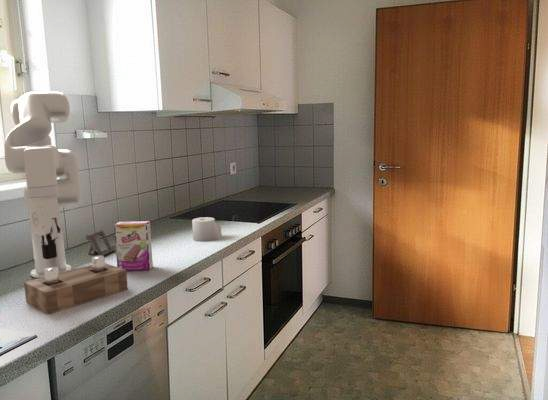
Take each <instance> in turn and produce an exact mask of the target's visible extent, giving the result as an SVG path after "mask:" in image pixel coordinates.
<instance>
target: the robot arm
mask: <svg viewBox="0 0 548 400" xmlns="http://www.w3.org/2000/svg"><path fill="white" fill-rule="evenodd" d="M68 99H69V98H68V97H67V95H65V94H64V93H63V92H59V91H29V92H26V93H24V94H22V95H21V96H20V97H19V98H17V99H15V100H13V101H12V103H11V105H10V109H11V110H10V112H11V115H12V120H13V122H14V126H15V127H13V128H12V129H11V130H10V131H9V132H8V134H7V136H6V137H5V139H4V162H5V166H6V169H7V170H8V171H9V172H11V173H12V174H17V175H18V174H25V181H26V185H25V187H24V189H23V196H24V201H25V203H26V208H27V211H28V216H29V217H28V218H29V230H30V233H31V234H30V235H31V241H32V242H31V243H32V250H33V259H34V269H32V270H30V276H31V277H33V278H34V279H38V278H42V277H45V273H44V269H45V268H48V267H58V270H59V273H61V272H65V271H69V270H72V266H71V265H70V264H67V262H66V253H65V242H64V232H63V223H62V222H63V221H62V218H61V213H60V212H61V211H60V208H70V207H77V206H79V205H80V204H81V203H82V200H83V197H82V196H83V191H82V185H81V177H80V171H79V170H80V169H79V163H78V159H77V156H76V154H75V152H74V151H72V150H70V149H66V148H65V149H64V148H63V149H58V148H57V147H56V146H54V145H52V138H51V136H50V133H51V132H52V124H59V123H62V124H63V123H66V122H67V121H68V118H69V117H70V113H71V112H70V111H71V108H70V102H69V100H68ZM61 178H62V179H61Z"/></svg>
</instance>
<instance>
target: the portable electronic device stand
mask: <svg viewBox="0 0 548 400" xmlns="http://www.w3.org/2000/svg"><path fill="white" fill-rule="evenodd" d="M101 237H102V240H103V242H104V243H105V246H106V249H105V250H104V249H103V250H101V248H100V246H99V242H100V239H101ZM85 239H86V241H88V242H89V241H91V244H90V248H89V251H88V253H87V254H88V256H89V255H92V253H96V252H97V254H98V255H97V256H104V257H105V256H106V255H109V254H110V253H113V252H114V251H115V252H116V245H113V246H111V244H110V242H109V240H108V239H107V236H106V234H105V232H104V230H102V229H100V230H97V231H95V232H92V233H89V234H87V235H86V237H85Z"/></svg>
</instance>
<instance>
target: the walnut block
mask: <svg viewBox="0 0 548 400" xmlns="http://www.w3.org/2000/svg"><path fill="white" fill-rule="evenodd" d="M59 280H60V283H58V284H54V285H50V286H47V285H46V282H45V277H42V278H34V279H31V280H27V281H24V282H23V284H24V285H23V286H24V293H25V302H26V303H27V304H29V305H31V306H32V307H35V308H36V309H38V310H40V311H41V312H43V313H45V314H47V315H49V314H50V315H51V314H53V313H57V312H60V311H62V310H66V309H69V308H72V307H77V306H78V305H81V304H85V303H88V302H92V301H95V300H97V299H101V298H105V297H108V296H110V295H113V294H116V293H120V292H124V291H127V290H128V275H127V271H126V270H124V269H121V268H118V267H117V266H116V265H115V266H114V265H112V264H110V263H106V262H105V271H102V272H98V273H94V272H93V270H92V264H89V265H85V266H81V267H78V268H74V269H71V270H69V271H65V272H61V273H59Z"/></svg>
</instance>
